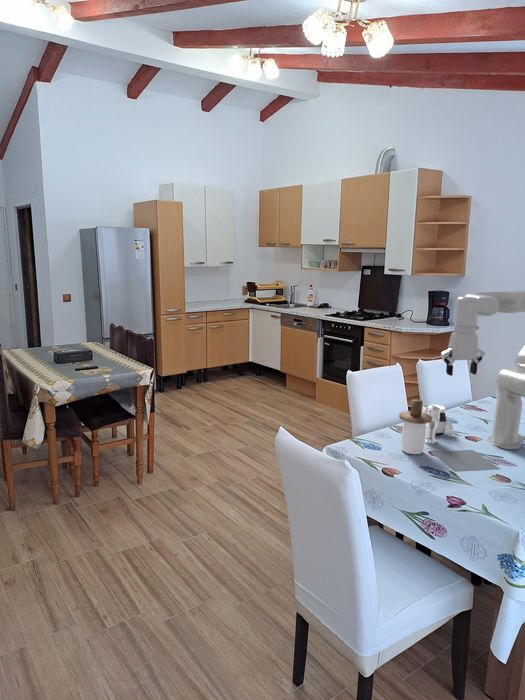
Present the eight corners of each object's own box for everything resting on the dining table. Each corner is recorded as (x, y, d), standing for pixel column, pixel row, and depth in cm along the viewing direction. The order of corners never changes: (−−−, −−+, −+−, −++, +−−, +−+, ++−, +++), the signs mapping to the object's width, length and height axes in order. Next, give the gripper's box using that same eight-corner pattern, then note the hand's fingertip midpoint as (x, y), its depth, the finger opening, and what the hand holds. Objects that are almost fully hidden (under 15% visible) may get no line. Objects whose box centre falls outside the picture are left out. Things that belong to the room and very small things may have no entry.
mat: (472, 451, 203) (472, 449, 203) (500, 471, 186) (500, 469, 186) (429, 453, 200) (430, 451, 200) (454, 473, 183) (455, 471, 183)
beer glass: (437, 446, 208) (441, 410, 205) (419, 444, 209) (423, 409, 206) (435, 440, 214) (439, 405, 211) (418, 438, 216) (421, 404, 213)
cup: (396, 450, 202) (399, 415, 200) (414, 448, 205) (418, 414, 202) (408, 458, 195) (412, 422, 192) (427, 456, 197) (431, 421, 194)
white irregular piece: (422, 428, 228) (424, 403, 226) (448, 429, 228) (450, 404, 226) (429, 438, 216) (432, 411, 214) (457, 439, 216) (460, 413, 214)
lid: (422, 412, 204) (423, 395, 202) (438, 423, 192) (439, 405, 191) (393, 413, 202) (395, 396, 200) (408, 424, 190) (409, 405, 189)
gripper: (480, 327, 197) (476, 370, 201) (438, 328, 194) (435, 372, 198) (492, 330, 190) (487, 375, 194) (448, 332, 187) (445, 377, 191)
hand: (461, 374), depth 196 cm, fingers open, 9 cm apart
